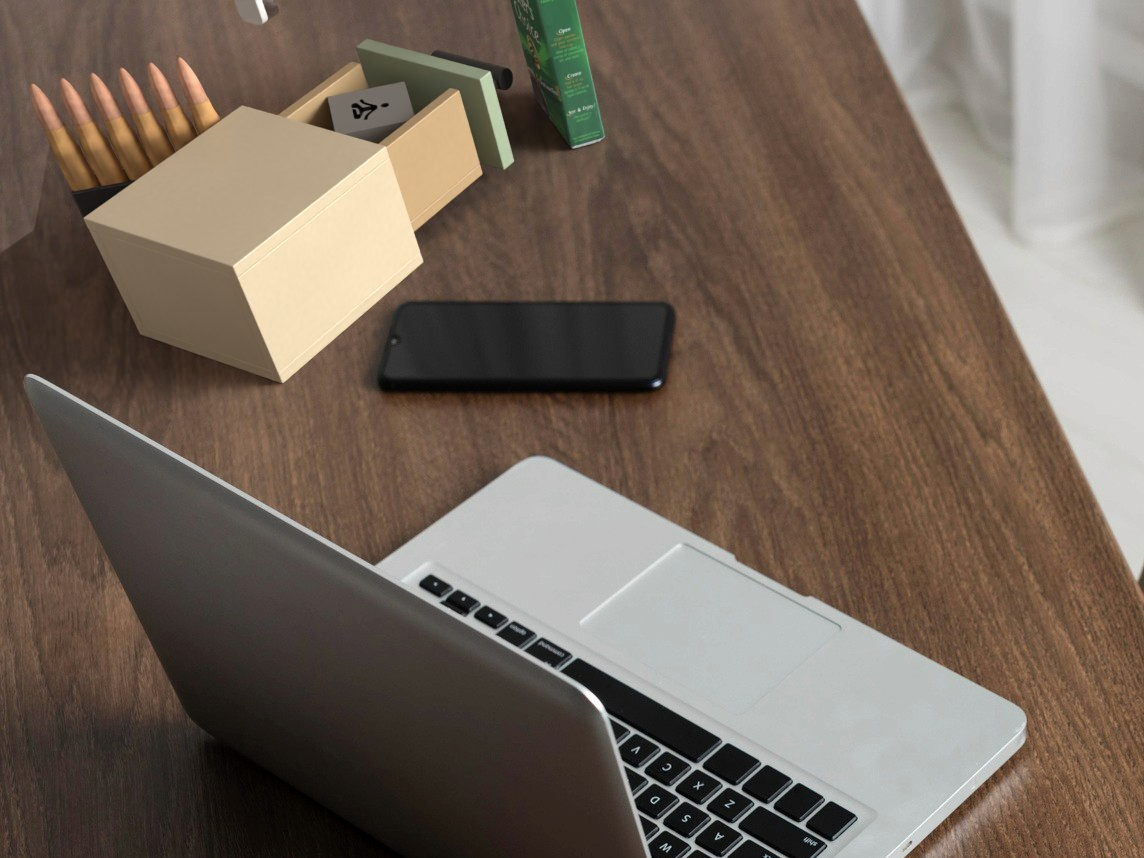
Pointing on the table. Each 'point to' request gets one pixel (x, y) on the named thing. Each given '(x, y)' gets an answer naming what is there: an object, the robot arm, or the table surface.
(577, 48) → the coffee box
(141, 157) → the ammunition clip
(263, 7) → the robot arm
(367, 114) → the dice cube
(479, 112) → the drawer
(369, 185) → the cabinet
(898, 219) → the table surface
